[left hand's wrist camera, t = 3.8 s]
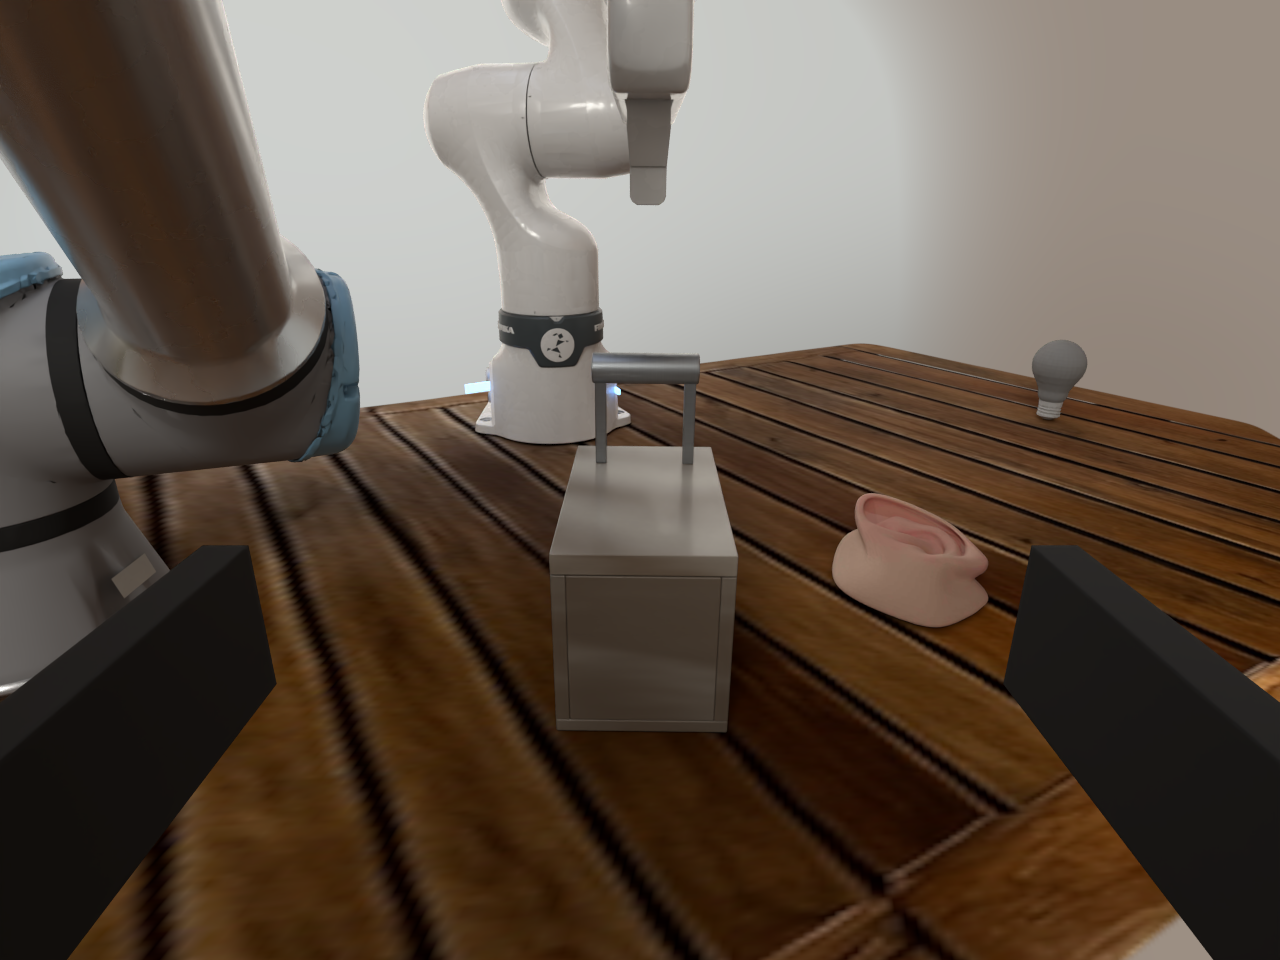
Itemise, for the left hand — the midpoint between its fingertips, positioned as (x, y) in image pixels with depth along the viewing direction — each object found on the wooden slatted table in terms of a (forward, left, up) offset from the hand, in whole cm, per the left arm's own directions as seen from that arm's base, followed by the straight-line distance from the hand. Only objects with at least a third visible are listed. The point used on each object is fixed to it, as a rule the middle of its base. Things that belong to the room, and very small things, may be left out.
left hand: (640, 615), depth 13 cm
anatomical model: (-20, +38, -20) cm, 48 cm away
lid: (-24, +17, -11) cm, 31 cm away
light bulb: (-37, +88, -20) cm, 98 cm away
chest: (-24, +16, -20) cm, 35 cm away
